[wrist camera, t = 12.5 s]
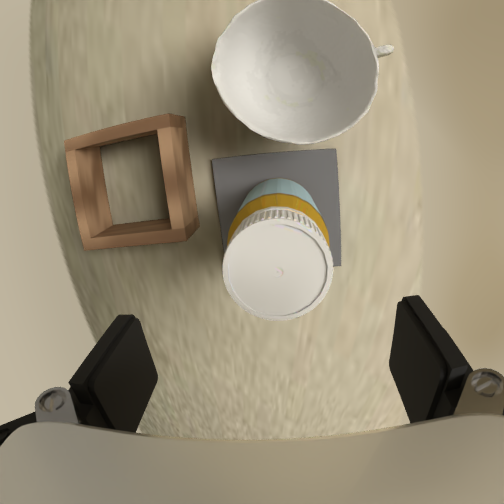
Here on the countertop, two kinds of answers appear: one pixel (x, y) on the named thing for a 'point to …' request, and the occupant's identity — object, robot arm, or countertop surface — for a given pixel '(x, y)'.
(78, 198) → the brown open frame
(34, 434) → the robot arm
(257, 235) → the bottle
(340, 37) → the teacup
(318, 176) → the mat
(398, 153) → the countertop surface
